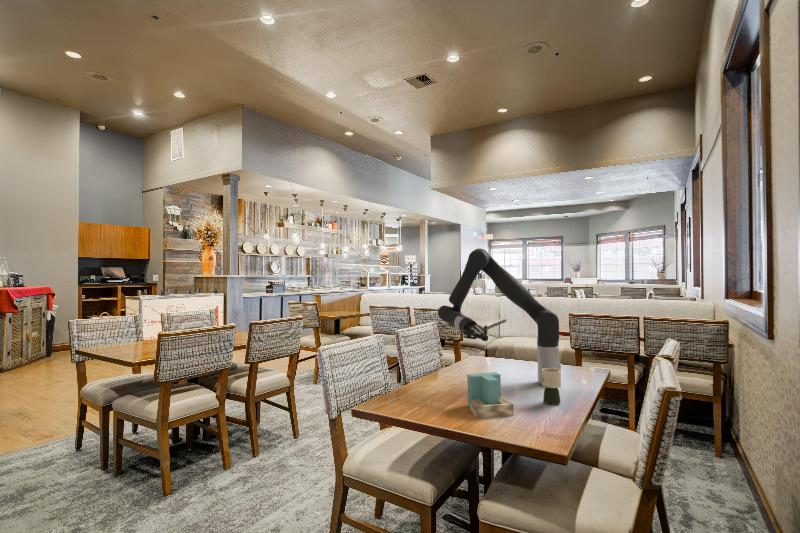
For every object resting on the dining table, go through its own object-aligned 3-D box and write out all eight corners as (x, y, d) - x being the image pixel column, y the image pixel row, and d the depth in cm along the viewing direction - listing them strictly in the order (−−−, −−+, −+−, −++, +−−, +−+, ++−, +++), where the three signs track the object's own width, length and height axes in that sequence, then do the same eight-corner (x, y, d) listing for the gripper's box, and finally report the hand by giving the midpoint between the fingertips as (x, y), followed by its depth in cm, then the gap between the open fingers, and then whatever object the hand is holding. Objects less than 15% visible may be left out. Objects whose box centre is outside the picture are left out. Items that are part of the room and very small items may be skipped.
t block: (496, 402, 168) (495, 372, 168) (509, 411, 157) (508, 378, 157) (468, 405, 165) (467, 374, 166) (478, 414, 155) (478, 381, 155)
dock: (504, 407, 161) (503, 397, 161) (513, 415, 153) (513, 404, 153) (470, 410, 159) (469, 399, 159) (477, 418, 151) (477, 406, 151)
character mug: (546, 398, 172) (545, 366, 172) (564, 400, 168) (564, 368, 168) (538, 405, 163) (537, 371, 163) (557, 408, 159) (556, 373, 159)
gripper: (478, 328, 198) (500, 342, 182) (453, 336, 194) (473, 351, 178) (477, 314, 196) (499, 326, 180) (452, 321, 192) (472, 334, 176)
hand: (486, 338), depth 179 cm, fingers closed
